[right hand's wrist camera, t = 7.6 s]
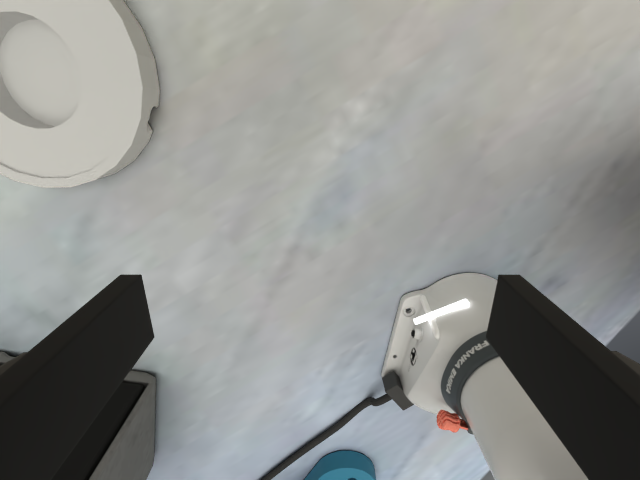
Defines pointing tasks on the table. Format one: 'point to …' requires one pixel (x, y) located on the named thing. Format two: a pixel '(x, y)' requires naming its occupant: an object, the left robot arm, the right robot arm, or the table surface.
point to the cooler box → (116, 435)
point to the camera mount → (343, 467)
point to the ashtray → (72, 90)
